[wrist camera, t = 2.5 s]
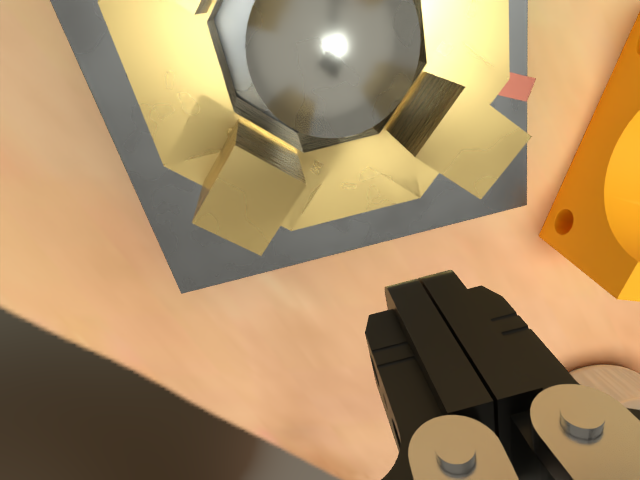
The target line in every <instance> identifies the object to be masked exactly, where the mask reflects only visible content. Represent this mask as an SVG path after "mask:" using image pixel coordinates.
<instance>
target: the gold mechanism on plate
mask: <svg viewBox="0 0 640 480" xmlns="http://www.w3.org/2000/svg"><path fill="white" fill-rule="evenodd" d="M50 1H51V3H52V5H53V8H54V10H55V12H56V14H57V17H58V19H59V21H60V23H61V26H62V28H63V30H64V32H65V35H66V37H67V39H68V41H69V43H70V46H71V48H72V50H73V52H74V55H75V57H76V59H77V61H78V64H79V66H80V68H81V70H82V72H83V75H84V77H85V79H86V81H87V84H88V86H89V88H90V90H91V93H92V95H93V97H94V99H95V102H96V104H97V106H98V108H99V110H100V113H101V115H102V117H103V119H104V122H105V124H106V126H107V128H108V131H109V133H110V135H111V137H112V139H113V142H114V144H115V146H116V148H117V151H118V153H119V155H120V157H121V160H122V162H123V164H124V166H125V169H126V171H127V173H128V175H129V177H130V180H131V182H132V184H133V186H134V189H135V191H136V193H137V195H138V198H139V200H140V202H141V204H142V207H143V209H144V211H145V213H146V215H147V218H148V220H149V222H150V224H151V227H152V229H153V231H154V233H155V236H156V238H157V240H158V242H159V244H160V247H161V249H162V251H163V253H164V256H165V258H166V260H167V262H168V265H169V267H170V269H171V271H172V274H173V276H174V278H175V280H176V282H177V285H178V287H179V289H180V291H181V294H182V293H186V292H190V291H194V290H198V289H202V288H205V287H209V286H213V285H217V284H221V283H225V282H229V281H233V280H237V279H240V278H244V277H248V276H252V275H256V274H260V273H264V272H268V271H272V270H275V269H279V268H283V267H287V266H291V265H295V264H299V263H303V262H307V261H310V260H314V259H318V258H322V257H326V256H330V255H334V254H338V253H342V252H346V251H349V250H353V249H357V248H361V247H365V246H369V245H373V244H377V243H381V242H384V241H388V240H392V239H396V238H400V237H404V236H408V235H412V234H416V233H419V232H423V231H427V230H431V229H435V228H439V227H443V226H447V225H451V224H454V223H458V222H462V221H466V220H470V219H474V218H478V217H482V216H486V215H489V214H493V213H497V212H501V211H505V210H509V209H513V208H517V207H521V206H525V205H527V143H526V144H525V145H524V147H523V148H522V149H521V150H520V152H519V153H518V154H517V155H516V157H515V158H514V159H513V160H512V162H511V163H510V164H509V165H508V167H507V168H506V169H505V170H504V172H503V173H502V174H501V175H500V176H499V178H498V179H497V180H496V181H495V183H494V184H493V185H492V186H491V188H490V189H489V190H488V191H487V193H486V194H485V195H484V196H483V198H482V199H479V198H478V197H476V196H474V195H473V194H471V193H470V192H468V191H467V190H465V189H464V188H462V187H460V186H459V185H457V184H456V183H454V182H453V181H451V180H450V179H448V178H446V177H445V176H443V175H442V174H440V173H439V174H438V175H437V176H436V178H435V179H434V180H433V182H432V183H431V184H430V186H429V187H428V188H427V190H426V191H425V192H424V194H423V195H422V196H421V198H418V199H414V200H411V201H407V202H403V203H399V204H395V205H391V206H387V207H383V208H379V209H375V210H371V211H368V212H364V213H360V214H356V215H352V216H348V217H344V218H340V219H336V220H332V221H328V222H325V223H321V224H317V225H313V226H309V227H305V228H301V229H297V230H293V231H290V230H288V229H286V228H284V227H282V226H280V227H279V229H278V231H277V232H276V234H275V235H274V237H273V238H272V240H271V241H270V243H269V245H268V246H267V248H266V249H265V251H264V252H263V254H262V255H261V256H260V255H258V254H256V253H254V252H252V251H250V250H247V249H245V248H243V247H241V246H239V245H237V244H235V243H233V242H231V241H228V240H226V239H224V238H222V237H220V236H218V235H216V234H214V233H212V232H209V231H207V230H205V229H203V228H201V227H199V226H197V225H195V224H193V223H192V221H193V217H194V214H195V210H196V207H197V203H198V200H199V196H200V192H201V189H202V185H200V184H198V183H196V182H194V181H192V180H190V179H188V178H186V177H184V176H182V175H180V174H178V173H176V172H174V171H172V170H170V169H168V168H166V167H164V166H163V163H162V161H161V158H160V156H159V153H158V151H157V148H156V146H155V143H154V141H153V138H152V136H151V133H150V131H149V128H148V126H147V124H146V121H145V119H144V116H143V114H142V111H141V109H140V106H139V104H138V101H137V99H136V96H135V94H134V91H133V89H132V86H131V84H130V81H129V79H128V76H127V74H126V71H125V69H124V67H123V64H122V62H121V59H120V57H119V54H118V52H117V49H116V47H115V44H114V42H113V39H112V37H111V34H110V32H109V29H108V27H107V24H106V22H105V19H104V17H103V14H102V12H101V10H100V7H99V5H98V0H50ZM527 12H528V0H509V68H510V79H509V80H508V82H507V83H506V84H505V86H504V87H503V88H502V90H501V91H500V92H499V94H498V95H497V96H496V98H495V99H494V100H493V102H492V103H491V104H490V106H492V107H493V108H494V109H496V110H497V111H498V112H500V113H501V114H502V115H504V116H505V117H506V118H508V119H509V120H510V121H512V122H513V123H514V124H516V125H517V126H518V127H520V128H521V129H522V130H524V131H525V132H526V133H527V100H528V97H529V95H530V92H531V90H532V87H533V85H534V83H535V80H536V78H532V77H528V76H527ZM214 22H215V26H216V29H217V33H218V36H219V39H220V43H221V46H222V49H223V53H224V56H225V59H226V63H227V66H228V69H229V73H230V76H231V79H232V83H233V86H234V89H235V93H236V96H237V97H238V98H239V99H241V100H243V101H245V102H246V103H248V104H250V105H251V106H253V107H255V108H256V109H258V110H260V111H261V112H263V113H265V114H266V115H268V116H270V117H271V118H273V119H275V120H276V121H278V122H280V123H281V124H283V125H285V126H286V127H288V128H290V129H291V130H293V131H295V132H296V133H299V132H301V133H304V134H307V135H310V136H314V137H319V138H342V137H348V136H352V135H355V134H358V133H361V132H363V131H365V130H368V129H370V128H371V127H373V126H375V125H376V124H378V123H379V122H381V121H382V120H383V119H384V118H386V117H387V116H388V115H389V114H390V113H391V112H392V111H393V110H394V109H395V108H396V107H397V105H398V104H399V103H400V101H401V100H402V99H403V97H404V96H405V94H406V92H407V91H408V89H409V87H410V85H411V82H412V80H413V78H414V75H415V72H416V69H417V65H418V60H419V55H420V43H421V40H420V26H419V20H418V15H417V12H416V8H415V5H414V3H413V0H223V2H222V4H221V6H220V8H219V10H218V12H217V14H216V16H215V18H214Z"/></svg>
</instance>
